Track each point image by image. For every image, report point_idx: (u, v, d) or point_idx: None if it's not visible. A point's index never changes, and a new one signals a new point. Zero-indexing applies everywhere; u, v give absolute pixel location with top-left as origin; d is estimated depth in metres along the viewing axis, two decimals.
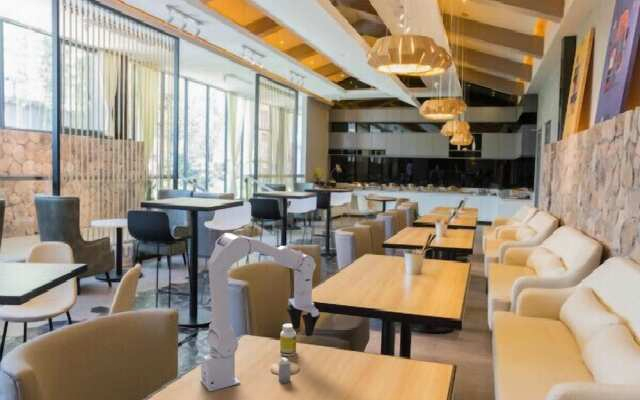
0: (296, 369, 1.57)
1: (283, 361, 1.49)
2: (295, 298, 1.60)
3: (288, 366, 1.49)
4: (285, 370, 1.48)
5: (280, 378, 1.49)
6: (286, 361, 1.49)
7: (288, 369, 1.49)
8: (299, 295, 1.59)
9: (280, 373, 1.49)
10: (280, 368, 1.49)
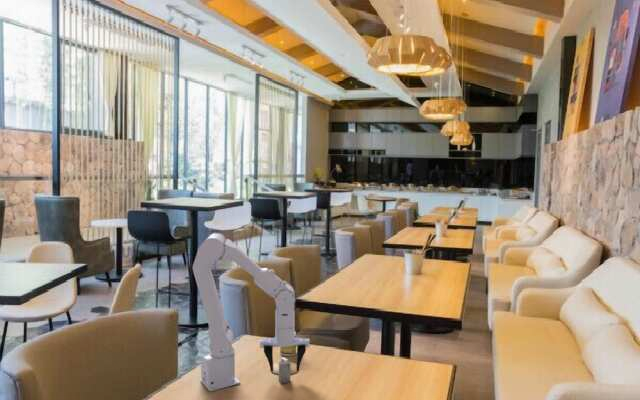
0: (296, 369, 1.57)
1: (283, 361, 1.49)
2: (284, 335, 1.46)
3: (288, 366, 1.49)
4: (285, 370, 1.48)
5: (280, 378, 1.49)
6: (286, 361, 1.49)
7: (288, 369, 1.49)
8: (290, 330, 1.46)
9: (280, 373, 1.49)
10: (280, 368, 1.49)
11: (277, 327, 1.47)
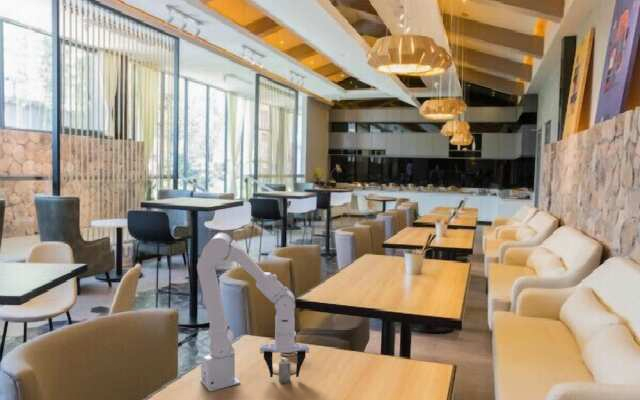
0: None
1: (283, 361, 1.49)
2: (284, 341, 1.46)
3: (288, 366, 1.49)
4: (285, 370, 1.48)
5: (280, 378, 1.49)
6: (286, 361, 1.49)
7: (288, 369, 1.49)
8: (289, 336, 1.47)
9: (280, 373, 1.49)
10: (280, 368, 1.49)
11: (277, 333, 1.47)
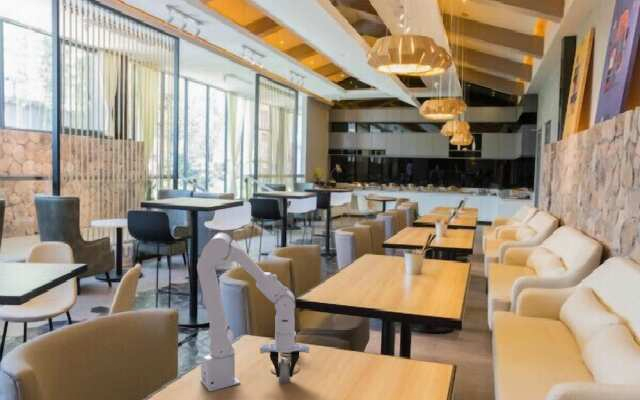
0: (296, 369, 1.57)
1: (283, 361, 1.49)
2: (284, 341, 1.46)
3: (288, 366, 1.49)
4: (285, 370, 1.48)
5: (280, 378, 1.49)
6: (286, 361, 1.49)
7: (288, 369, 1.49)
8: (289, 336, 1.46)
9: (280, 373, 1.49)
10: (280, 368, 1.49)
11: (277, 333, 1.47)
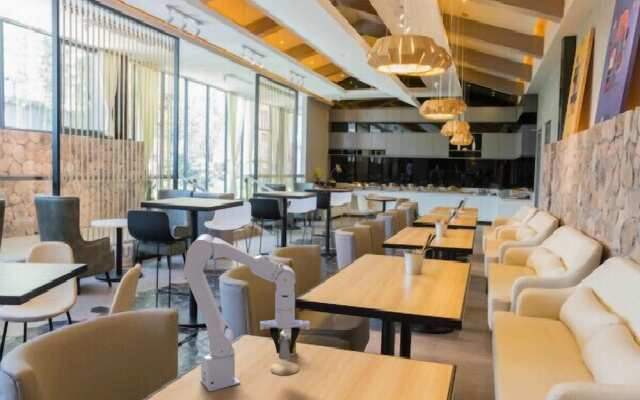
0: (296, 369, 1.57)
1: (283, 337, 1.48)
2: (284, 317, 1.45)
3: (288, 342, 1.48)
4: (285, 346, 1.48)
5: (280, 354, 1.48)
6: (286, 337, 1.48)
7: (288, 345, 1.48)
8: (290, 312, 1.46)
9: (280, 349, 1.48)
10: (280, 344, 1.48)
11: (277, 309, 1.46)
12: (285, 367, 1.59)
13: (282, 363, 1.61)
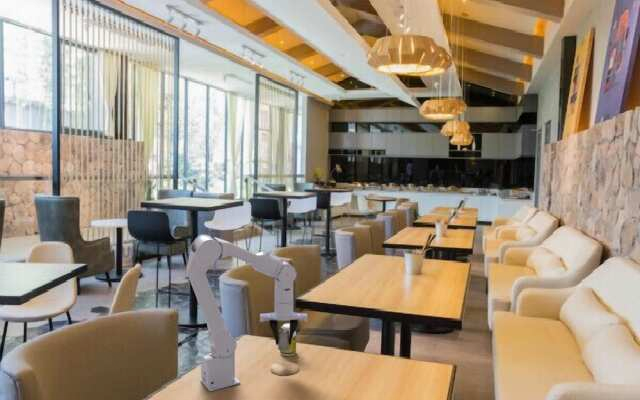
0: (296, 369, 1.57)
1: (282, 329, 1.55)
2: (283, 310, 1.52)
3: (287, 334, 1.54)
4: (284, 338, 1.54)
5: (279, 346, 1.55)
6: (285, 329, 1.54)
7: (287, 337, 1.55)
8: (288, 305, 1.52)
9: (279, 341, 1.55)
10: (279, 336, 1.54)
11: (276, 302, 1.53)
12: (285, 367, 1.59)
13: (282, 363, 1.61)
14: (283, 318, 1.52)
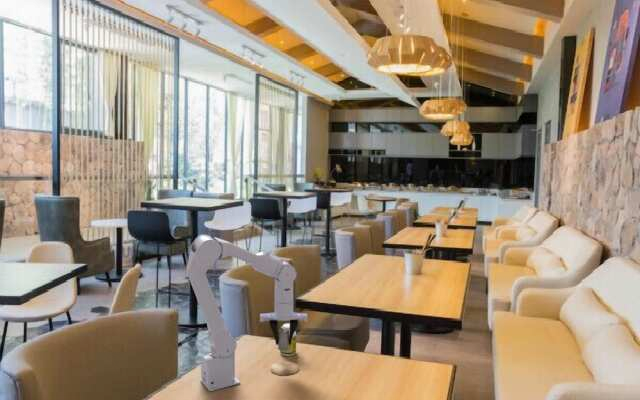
0: (296, 369, 1.57)
1: (282, 329, 1.55)
2: (283, 310, 1.52)
3: (287, 334, 1.54)
4: (284, 338, 1.54)
5: (279, 346, 1.55)
6: (285, 329, 1.54)
7: (287, 337, 1.55)
8: (288, 305, 1.52)
9: (279, 341, 1.55)
10: (279, 336, 1.54)
11: (276, 302, 1.53)
12: (285, 367, 1.59)
13: (282, 363, 1.61)
14: (283, 318, 1.52)
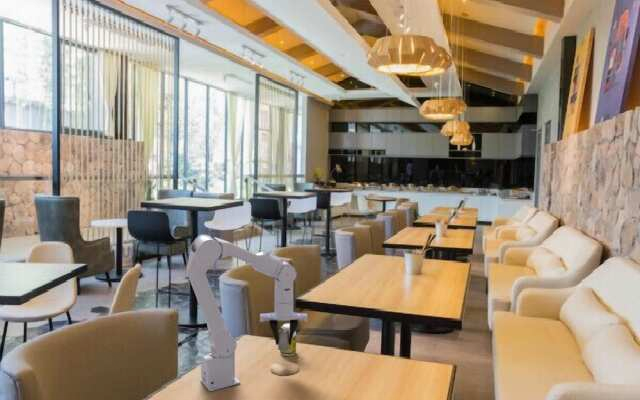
0: (296, 369, 1.57)
1: (282, 329, 1.55)
2: (283, 310, 1.52)
3: (287, 334, 1.54)
4: (284, 338, 1.54)
5: (279, 346, 1.55)
6: (285, 329, 1.54)
7: (287, 337, 1.55)
8: (288, 305, 1.52)
9: (279, 341, 1.55)
10: (279, 336, 1.54)
11: (276, 302, 1.53)
12: (285, 367, 1.59)
13: (282, 363, 1.61)
14: (283, 318, 1.52)
